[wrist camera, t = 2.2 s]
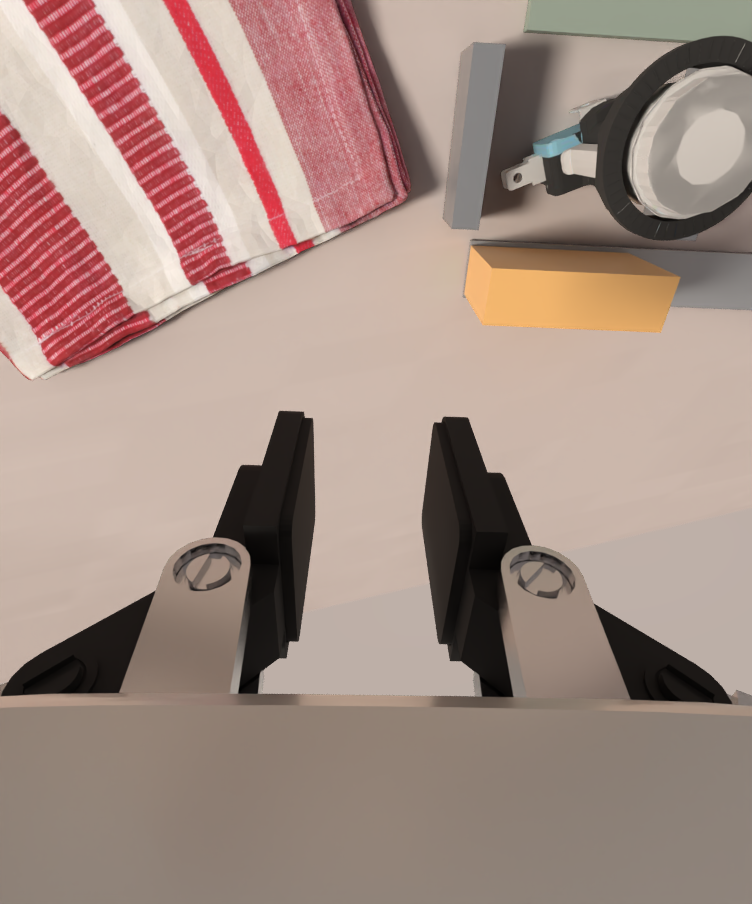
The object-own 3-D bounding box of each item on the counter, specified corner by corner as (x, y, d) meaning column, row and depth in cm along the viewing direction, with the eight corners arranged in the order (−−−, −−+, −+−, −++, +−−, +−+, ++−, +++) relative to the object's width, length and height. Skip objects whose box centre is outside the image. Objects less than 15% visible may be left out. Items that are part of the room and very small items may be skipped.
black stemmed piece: (511, 234, 25) (584, 286, 17) (485, 114, 22) (556, 103, 14) (648, 181, 24) (802, 207, 15) (639, 47, 21) (819, -10, 13)
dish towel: (419, 192, 24) (424, 197, 22) (48, 378, 29) (21, 398, 27) (224, -343, 16) (201, -421, 14) (-248, 41, 21) (-322, 30, 19)
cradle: (461, 52, 21) (473, 42, 19) (893, 80, 22) (962, 73, 19) (434, 295, 27) (441, 312, 24) (781, 310, 27) (824, 328, 25)
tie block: (471, 245, 25) (492, 268, 21) (628, 252, 25) (680, 277, 21) (464, 294, 26) (482, 324, 22) (613, 300, 27) (660, 332, 22)
